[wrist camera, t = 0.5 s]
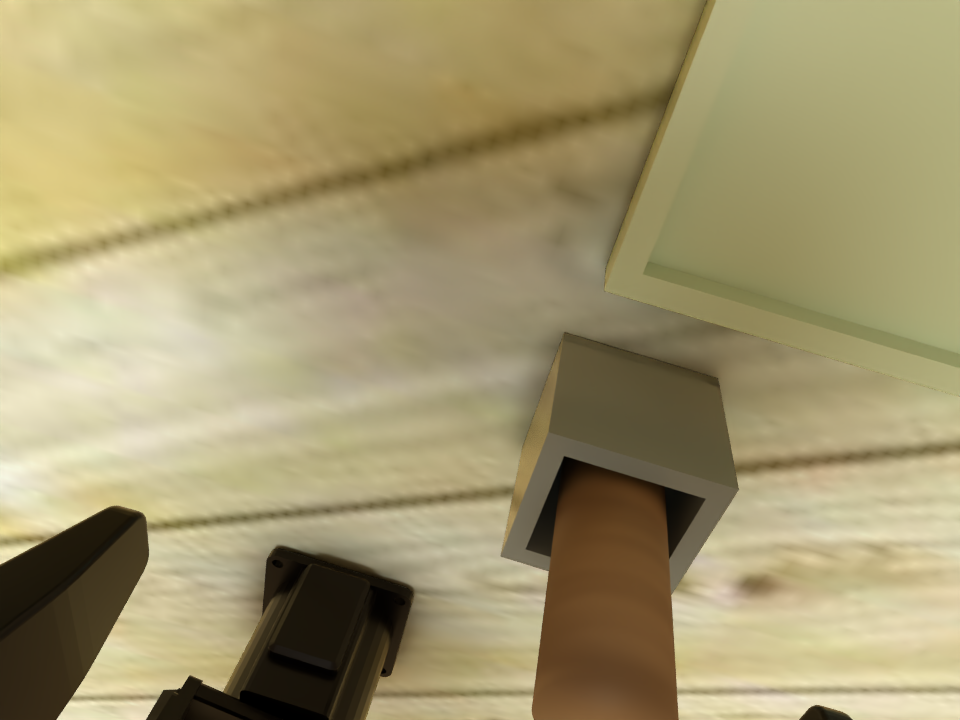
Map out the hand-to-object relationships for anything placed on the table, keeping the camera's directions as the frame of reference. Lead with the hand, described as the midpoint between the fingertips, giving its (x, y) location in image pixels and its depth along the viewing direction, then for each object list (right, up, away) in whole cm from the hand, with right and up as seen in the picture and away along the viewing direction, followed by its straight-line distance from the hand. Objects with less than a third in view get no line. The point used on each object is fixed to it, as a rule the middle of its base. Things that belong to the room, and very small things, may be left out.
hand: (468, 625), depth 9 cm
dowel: (+5, +1, +14) cm, 14 cm away
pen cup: (+5, +2, +14) cm, 15 cm away
